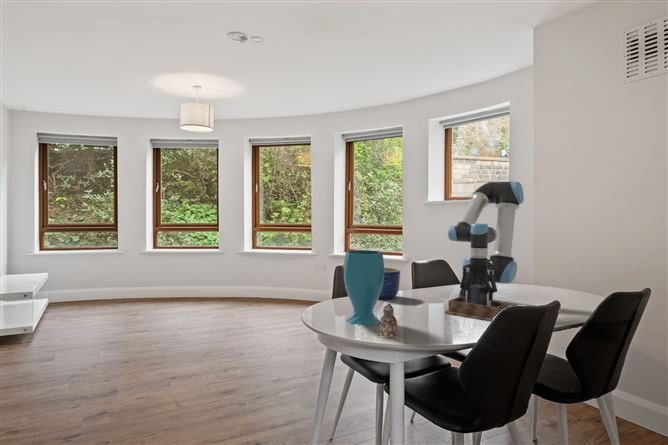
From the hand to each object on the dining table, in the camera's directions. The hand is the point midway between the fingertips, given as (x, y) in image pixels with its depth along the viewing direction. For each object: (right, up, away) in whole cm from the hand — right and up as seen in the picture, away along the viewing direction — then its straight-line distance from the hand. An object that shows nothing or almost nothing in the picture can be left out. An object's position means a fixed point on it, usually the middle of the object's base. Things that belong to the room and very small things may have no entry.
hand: (477, 305), depth 206 cm
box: (0, -1, 0) cm, 1 cm away
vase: (-54, -5, -12) cm, 55 cm away
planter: (-39, -3, +38) cm, 54 cm away
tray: (0, -4, 0) cm, 4 cm away
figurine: (-45, -6, -33) cm, 57 cm away
